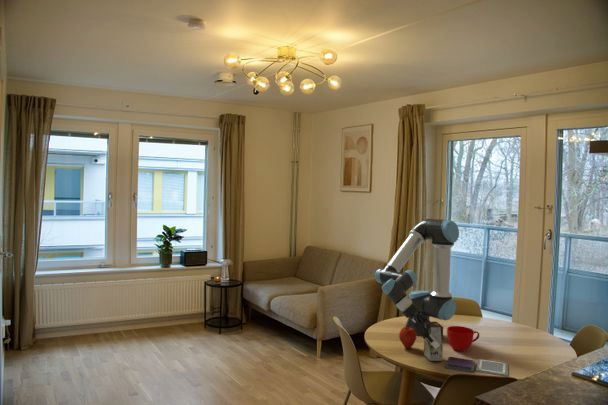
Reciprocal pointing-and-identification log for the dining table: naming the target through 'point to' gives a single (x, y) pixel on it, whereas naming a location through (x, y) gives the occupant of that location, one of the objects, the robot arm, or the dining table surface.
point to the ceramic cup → (460, 337)
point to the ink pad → (460, 364)
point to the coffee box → (437, 334)
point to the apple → (407, 336)
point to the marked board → (492, 367)
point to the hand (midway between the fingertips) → (439, 343)
